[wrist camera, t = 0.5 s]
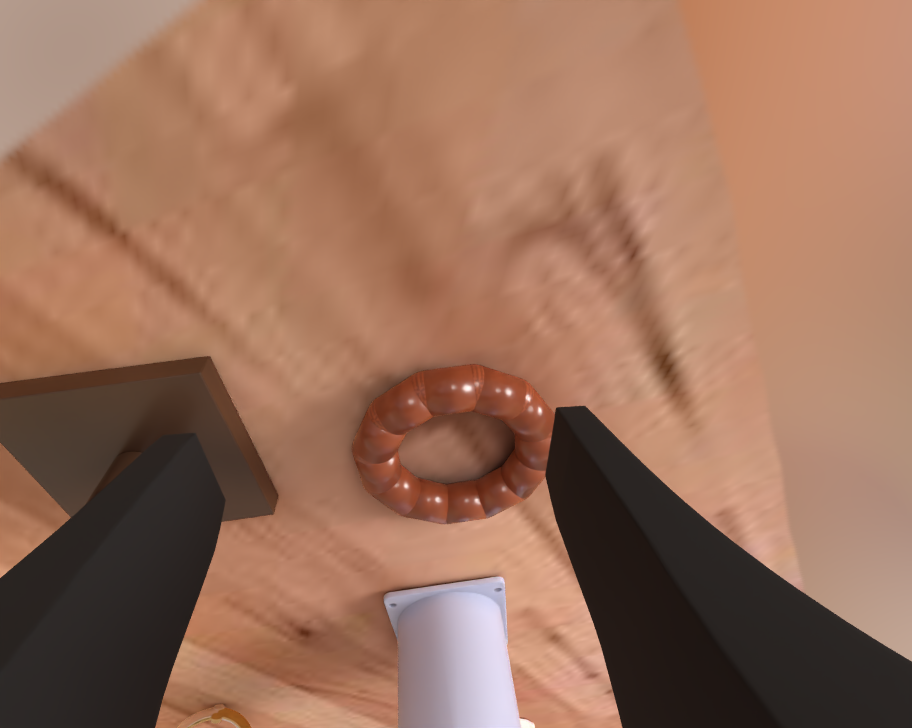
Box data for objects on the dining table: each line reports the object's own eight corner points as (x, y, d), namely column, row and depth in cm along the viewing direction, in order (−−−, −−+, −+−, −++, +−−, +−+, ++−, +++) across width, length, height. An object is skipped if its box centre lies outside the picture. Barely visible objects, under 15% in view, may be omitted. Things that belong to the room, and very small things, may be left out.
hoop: (548, 486, 26) (558, 516, 25) (377, 510, 26) (375, 542, 24) (554, 344, 21) (567, 371, 19) (335, 373, 20) (330, 403, 19)
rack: (279, 495, 24) (251, 604, 20) (104, 519, 24) (35, 636, 20) (210, 355, 19) (151, 460, 15) (-15, 384, 19) (-148, 500, 14)
